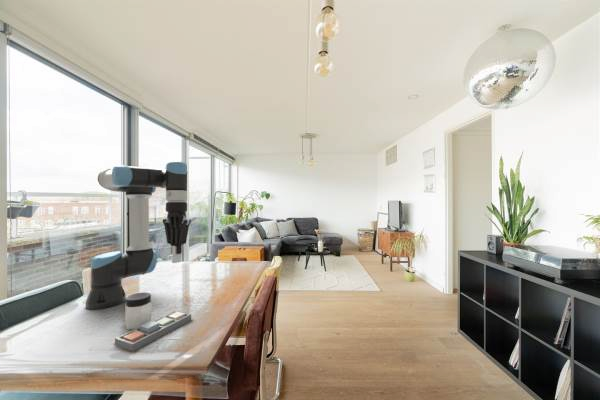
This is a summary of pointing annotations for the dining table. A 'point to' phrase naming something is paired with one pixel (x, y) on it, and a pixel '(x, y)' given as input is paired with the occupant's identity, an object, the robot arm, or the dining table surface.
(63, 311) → the dining table surface
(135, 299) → the jar
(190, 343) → the dining table surface
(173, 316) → the key cream
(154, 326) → the key slate
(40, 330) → the dining table surface
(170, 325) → the grey compartment tray
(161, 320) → the key sage
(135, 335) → the key terracotta
